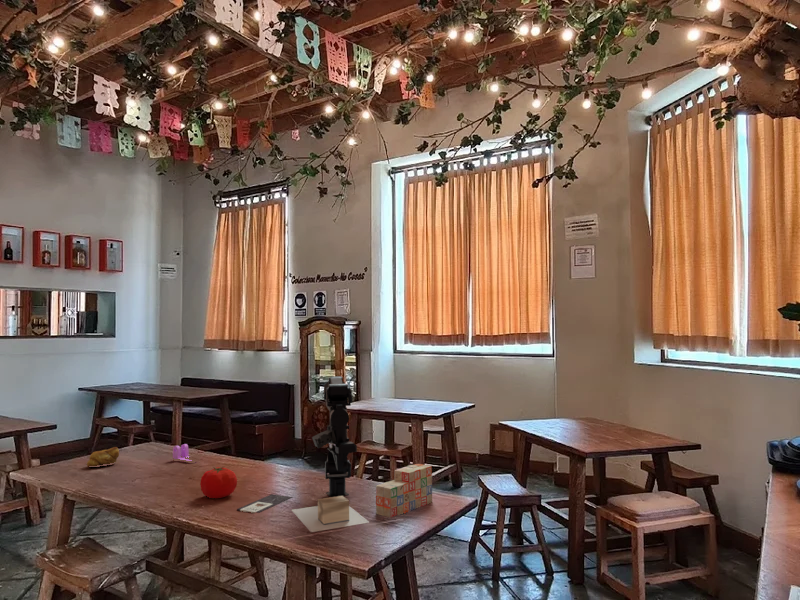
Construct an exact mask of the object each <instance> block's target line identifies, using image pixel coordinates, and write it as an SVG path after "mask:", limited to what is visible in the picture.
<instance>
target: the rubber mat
mask: <svg viewBox="0 0 800 600" xmlns="http://www.w3.org/2000/svg"><path fill="white" fill-rule="evenodd" d="M291 512H292V513H293V514H294V515H295V516H296V517H297V519H298V520H299V521H300V522H301V523H302V524H303V526H305V527H306V529H307V530H308V531H309V532H310V533H316V532H322V531H326V530H327V531H328V530H333V529H340V528H344V527H346V528H347V527H351V526H352V527H353V526H357V525H362V524H369V523H370V521H369V520H368V519H366V518H365V517H364V516H362V515H361V514H360V513H359V512H358V511H357V510H355V509H354V508H353V507H351V506H350V505H349V521H346V522H340V523H334V524H328V525H323V524H322V523H321V522H320V521H319V520H318V505H315V506H309V507H300V508H295V509H291Z"/></svg>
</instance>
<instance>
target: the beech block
mask: <svg viewBox="0 0 800 600" xmlns="http://www.w3.org/2000/svg"><path fill="white" fill-rule="evenodd" d="M317 506H318V520H319V521H320V522H321V523H322V524H323V525H328V524H334V523H340V522H346V521H349V506H350V500H349V499H348V498H347V497H345V496H337V497H330V496H329V497H324V498H317Z"/></svg>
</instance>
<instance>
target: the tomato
mask: <svg viewBox="0 0 800 600" xmlns="http://www.w3.org/2000/svg"><path fill="white" fill-rule="evenodd" d="M212 468H213V469H211V470H206V471H205V472H204V473H203V475H202V476H201V478H200V482H199V483H200V484H199V485H200V491H201V493H202V494H203V495H204V496H205V497H206V496H207V498H208V497H209V499H210V498H215V499H222V498H225V497H228V496H230V495H231V494H232V493H234V492H235V490H236V488H237V485H238V478H237V475H236V473H235V472H234V471H233V470H231V469H229V468H227V467H224V466H222V467H221V466H220V467H219V466H217V467H215V466H212Z"/></svg>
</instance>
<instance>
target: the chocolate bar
mask: <svg viewBox="0 0 800 600" xmlns="http://www.w3.org/2000/svg"><path fill="white" fill-rule="evenodd" d="M290 499H293V496H289V495H280V494H279V495H278V494H273V493H270V494H269V495H267V496H264V497H262V498H259V499H257V500H255V501H253V502H250V503H248V504H246V505H244V506H241V507H239V508H236V511H237V512H242V511H243V512H242V513H248V512H251V513H250V514H256V513H258V514H259V513H262V512H264V511H266V510H269V509H271V508H273V507H274V506H277V505H279V504H282V503H283V502H286V501H287V500H290Z"/></svg>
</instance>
